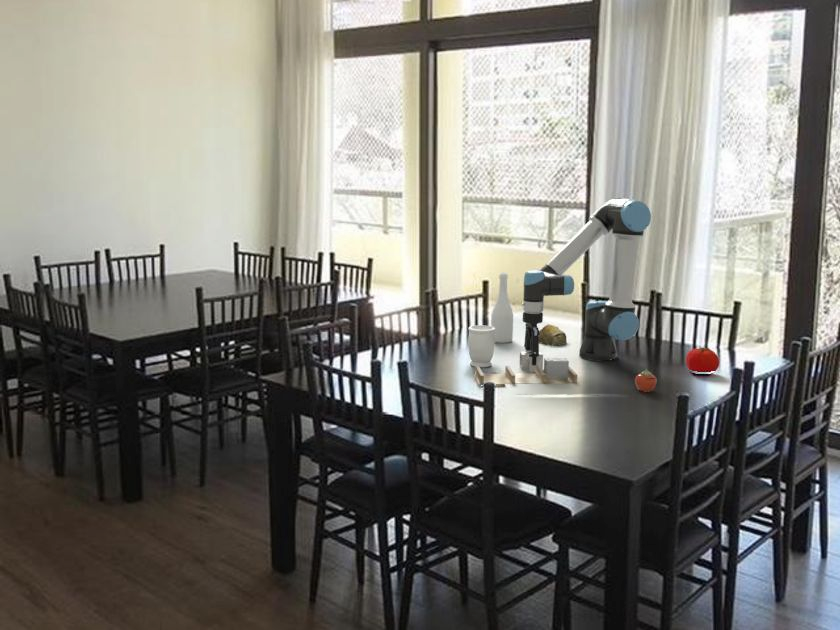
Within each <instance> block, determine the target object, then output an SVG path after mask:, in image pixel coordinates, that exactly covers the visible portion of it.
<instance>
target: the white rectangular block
mask: <svg viewBox="0 0 840 630" xmlns="http://www.w3.org/2000/svg"><path fill="white" fill-rule="evenodd" d="M529 355H531V352H525V351H520V352H519V368H520V371H521V370H522V371H529V369H530V357H529ZM537 366H539V367H540V368H541V369H542V370H543V371H544V354H543V353H542V352H541V351H539V356H538V357H537Z"/></svg>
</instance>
